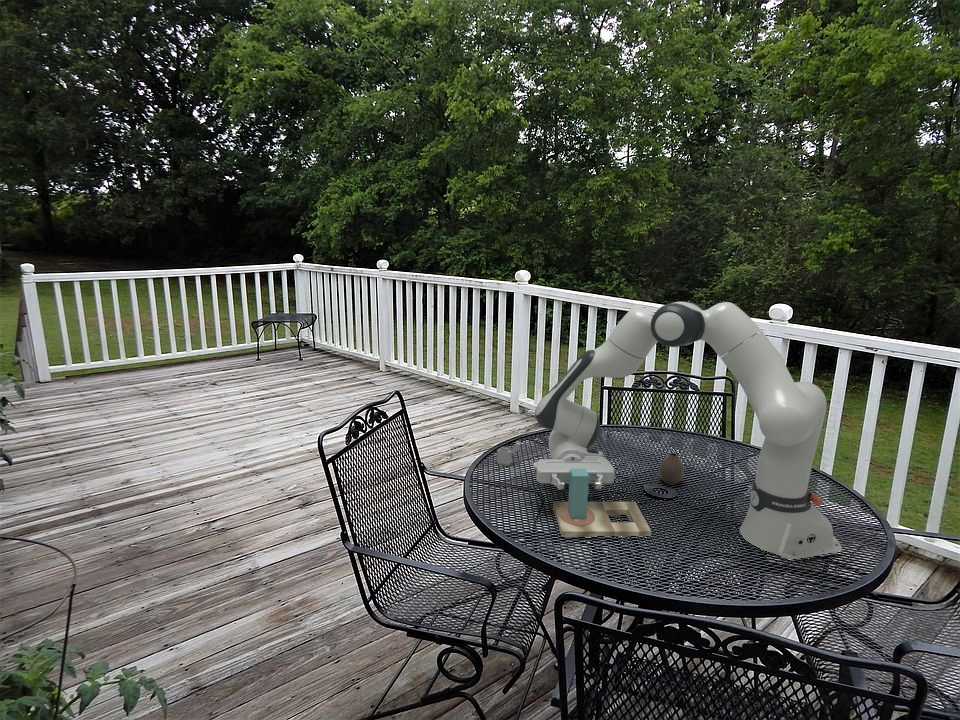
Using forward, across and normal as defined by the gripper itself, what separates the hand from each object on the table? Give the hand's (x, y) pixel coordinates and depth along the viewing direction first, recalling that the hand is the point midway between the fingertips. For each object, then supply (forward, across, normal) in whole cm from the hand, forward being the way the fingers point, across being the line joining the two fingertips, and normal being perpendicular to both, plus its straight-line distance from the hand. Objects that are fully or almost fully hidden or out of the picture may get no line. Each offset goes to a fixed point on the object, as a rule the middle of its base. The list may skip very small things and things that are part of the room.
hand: (579, 486), depth 142 cm
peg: (-1, 0, +8) cm, 8 cm away
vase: (-23, +32, +11) cm, 41 cm away
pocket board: (-1, +6, +11) cm, 12 cm away
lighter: (-34, -15, +11) cm, 39 cm away
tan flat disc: (-1, 0, +9) cm, 9 cm away
